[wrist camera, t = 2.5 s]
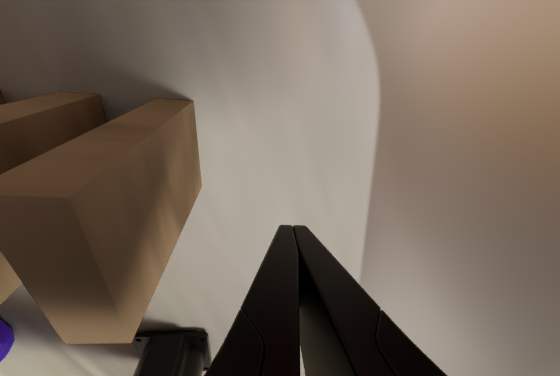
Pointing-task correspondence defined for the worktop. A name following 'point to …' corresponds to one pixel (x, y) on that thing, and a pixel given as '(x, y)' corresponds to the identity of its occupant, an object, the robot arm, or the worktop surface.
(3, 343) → the bottle
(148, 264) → the domino
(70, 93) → the domino
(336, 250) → the worktop surface
